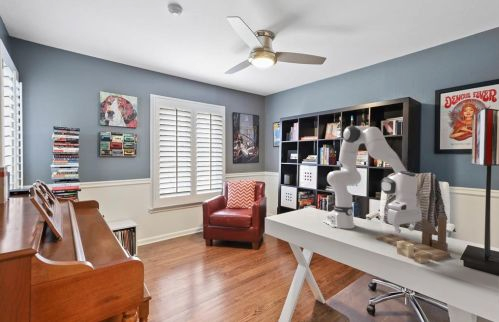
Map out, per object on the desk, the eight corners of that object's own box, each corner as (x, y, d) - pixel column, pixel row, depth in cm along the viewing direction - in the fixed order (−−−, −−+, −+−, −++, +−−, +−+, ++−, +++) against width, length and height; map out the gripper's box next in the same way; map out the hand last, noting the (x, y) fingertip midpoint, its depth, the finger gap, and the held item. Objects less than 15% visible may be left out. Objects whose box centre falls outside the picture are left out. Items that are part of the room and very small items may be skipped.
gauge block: (396, 253, 124) (396, 241, 124) (402, 252, 126) (402, 240, 126) (408, 257, 119) (408, 245, 119) (413, 256, 120) (414, 244, 120)
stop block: (414, 261, 115) (414, 252, 115) (422, 258, 117) (422, 250, 117) (420, 263, 112) (420, 255, 112) (429, 261, 114) (429, 253, 114)
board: (376, 239, 145) (376, 235, 145) (391, 236, 149) (391, 233, 149) (434, 260, 115) (434, 256, 115) (450, 257, 120) (450, 253, 120)
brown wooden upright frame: (424, 243, 138) (425, 211, 137) (447, 250, 128) (448, 216, 128) (421, 244, 136) (422, 212, 135) (444, 251, 126) (445, 216, 126)
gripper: (413, 201, 128) (412, 227, 129) (385, 204, 121) (384, 231, 122) (426, 204, 122) (424, 231, 123) (397, 207, 115) (396, 236, 116)
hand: (404, 231), depth 122 cm, fingers open, 8 cm apart
